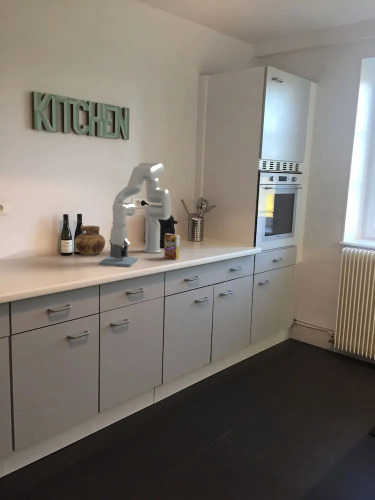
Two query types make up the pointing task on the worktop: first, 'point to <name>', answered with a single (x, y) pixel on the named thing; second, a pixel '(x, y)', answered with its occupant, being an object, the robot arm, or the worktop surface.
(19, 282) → the worktop surface
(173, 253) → the candy box
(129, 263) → the base
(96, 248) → the clay pot
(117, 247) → the dark grey cube
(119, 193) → the robot arm
